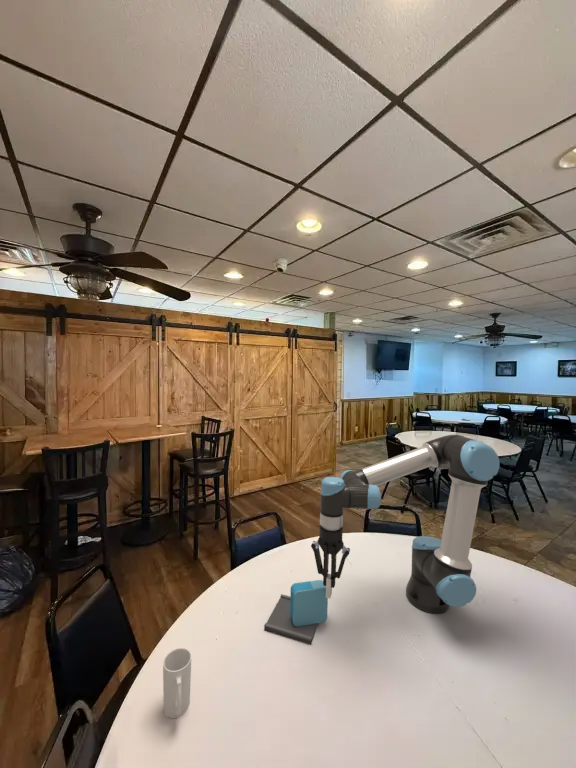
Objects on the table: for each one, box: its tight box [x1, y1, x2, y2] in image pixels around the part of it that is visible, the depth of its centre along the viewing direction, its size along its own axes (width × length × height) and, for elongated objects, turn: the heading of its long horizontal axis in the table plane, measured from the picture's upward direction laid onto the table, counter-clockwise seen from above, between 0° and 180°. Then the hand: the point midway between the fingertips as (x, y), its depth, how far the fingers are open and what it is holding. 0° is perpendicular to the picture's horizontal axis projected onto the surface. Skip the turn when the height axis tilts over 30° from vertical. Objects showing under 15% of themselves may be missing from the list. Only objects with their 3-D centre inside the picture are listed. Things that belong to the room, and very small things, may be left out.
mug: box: [162, 647, 192, 719], centre depth 79 cm, size 10×7×12 cm, turn 23°
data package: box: [289, 579, 329, 627], centre depth 109 cm, size 12×4×12 cm, turn 104°
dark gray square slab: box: [263, 593, 319, 646], centre depth 110 cm, size 16×16×2 cm
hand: (328, 595), depth 106 cm, fingers closed
